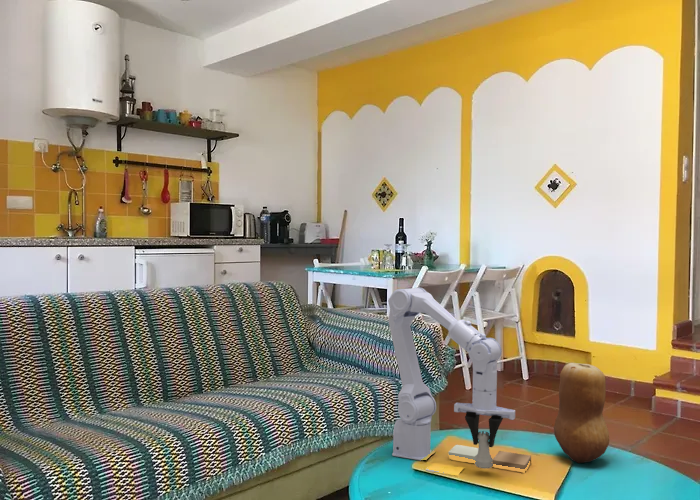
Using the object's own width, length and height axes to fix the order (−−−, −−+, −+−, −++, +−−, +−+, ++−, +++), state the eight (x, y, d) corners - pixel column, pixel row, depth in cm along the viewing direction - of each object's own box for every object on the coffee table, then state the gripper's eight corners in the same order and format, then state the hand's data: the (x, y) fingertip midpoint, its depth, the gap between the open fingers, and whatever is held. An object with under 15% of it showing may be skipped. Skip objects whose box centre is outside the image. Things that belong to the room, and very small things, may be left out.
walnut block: (492, 467, 153) (492, 459, 153) (499, 458, 160) (499, 450, 160) (525, 473, 149) (525, 465, 149) (530, 463, 157) (530, 455, 157)
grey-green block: (448, 459, 158) (448, 452, 158) (455, 452, 165) (456, 444, 165) (475, 464, 155) (475, 456, 155) (481, 456, 162) (481, 448, 162)
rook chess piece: (493, 469, 146) (492, 436, 146) (473, 468, 147) (473, 434, 147) (493, 463, 150) (493, 430, 150) (475, 462, 152) (474, 429, 152)
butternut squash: (620, 466, 156) (621, 367, 156) (577, 471, 151) (579, 370, 151) (582, 449, 169) (583, 358, 169) (541, 454, 164) (543, 360, 164)
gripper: (450, 388, 148) (449, 444, 148) (511, 395, 142) (510, 454, 142) (458, 383, 155) (458, 437, 155) (517, 389, 148) (516, 445, 148)
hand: (483, 444), depth 149 cm, fingers closed on rook chess piece, 3 cm apart
